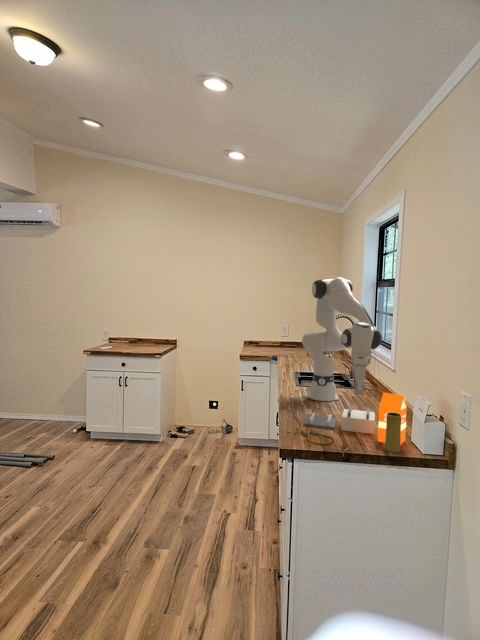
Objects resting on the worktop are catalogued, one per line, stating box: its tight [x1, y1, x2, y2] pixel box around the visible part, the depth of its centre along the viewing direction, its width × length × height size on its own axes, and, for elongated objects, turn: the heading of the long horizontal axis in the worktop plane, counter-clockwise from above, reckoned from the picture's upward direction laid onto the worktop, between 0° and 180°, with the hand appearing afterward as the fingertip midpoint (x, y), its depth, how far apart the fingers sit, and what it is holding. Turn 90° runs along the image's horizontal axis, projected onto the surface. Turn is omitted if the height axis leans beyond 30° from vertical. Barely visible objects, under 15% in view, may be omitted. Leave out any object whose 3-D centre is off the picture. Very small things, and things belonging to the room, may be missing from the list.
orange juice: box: [377, 391, 408, 445], centre depth 174 cm, size 8×9×20 cm
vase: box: [383, 412, 402, 453], centre depth 164 cm, size 6×6×14 cm
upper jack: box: [340, 405, 376, 435], centre depth 192 cm, size 14×14×8 cm
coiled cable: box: [300, 429, 335, 446], centre depth 175 cm, size 12×16×2 cm
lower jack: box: [303, 411, 338, 430], centre depth 197 cm, size 14×14×3 cm
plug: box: [354, 379, 366, 396], centre depth 191 cm, size 4×4×6 cm
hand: (359, 388), depth 191 cm, fingers closed on plug, 4 cm apart
